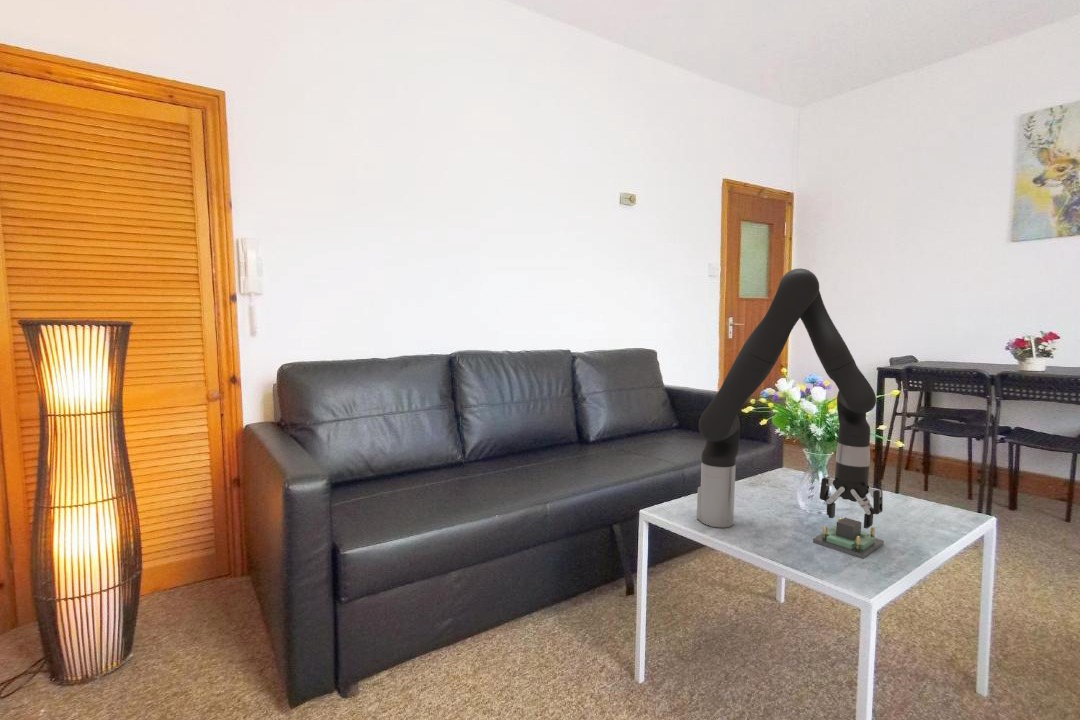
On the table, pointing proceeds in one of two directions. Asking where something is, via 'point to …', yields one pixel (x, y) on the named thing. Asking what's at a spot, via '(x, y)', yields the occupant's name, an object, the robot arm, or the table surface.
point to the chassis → (855, 551)
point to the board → (849, 542)
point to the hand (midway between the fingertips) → (848, 522)
